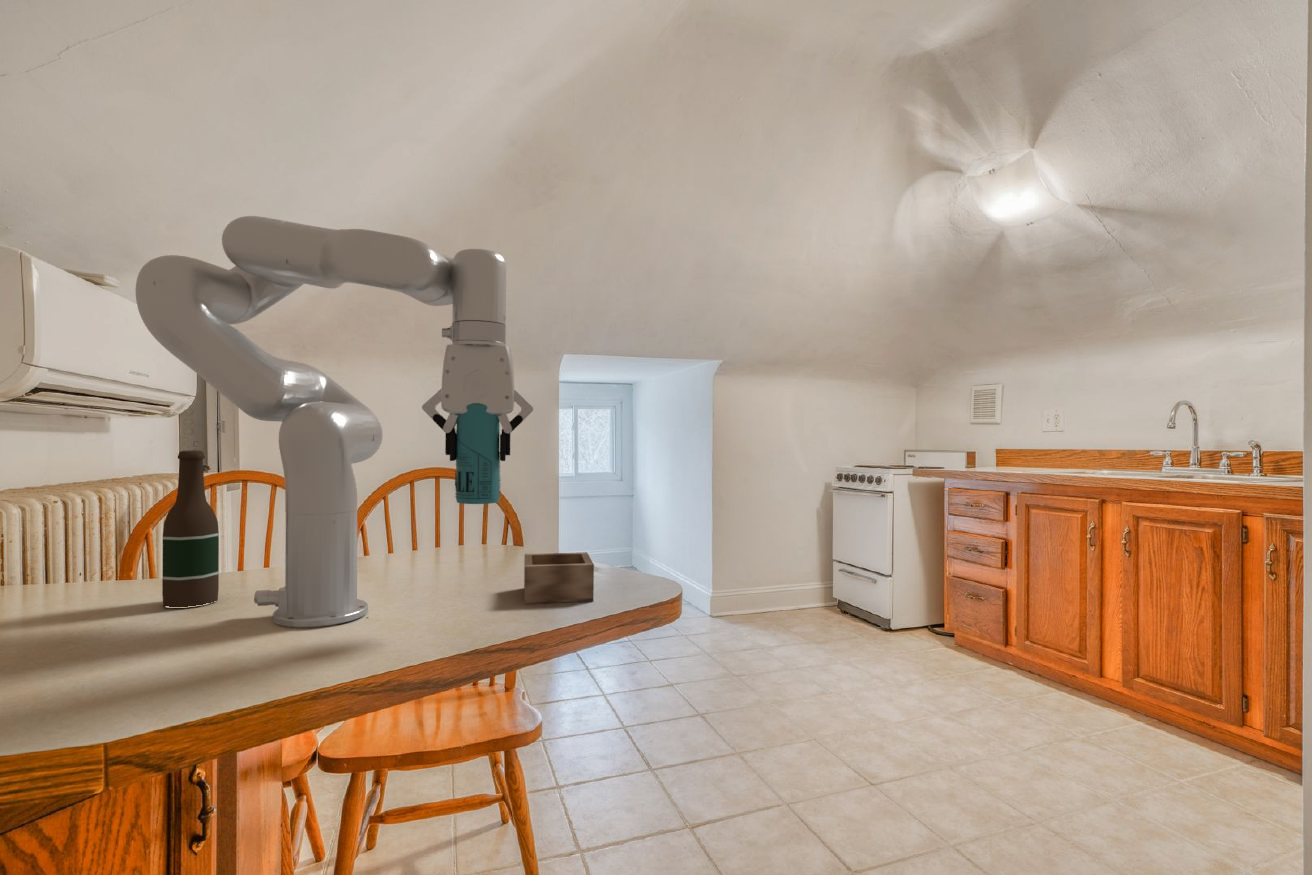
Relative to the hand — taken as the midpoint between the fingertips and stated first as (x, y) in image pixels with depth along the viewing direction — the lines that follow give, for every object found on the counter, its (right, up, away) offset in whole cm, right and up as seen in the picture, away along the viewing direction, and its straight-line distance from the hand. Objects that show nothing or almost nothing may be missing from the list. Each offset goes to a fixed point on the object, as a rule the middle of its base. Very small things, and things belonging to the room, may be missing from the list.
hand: (478, 459), depth 99 cm
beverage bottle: (0, -8, 0) cm, 8 cm away
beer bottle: (-47, -23, +8) cm, 53 cm away
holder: (+9, -23, +16) cm, 30 cm away
